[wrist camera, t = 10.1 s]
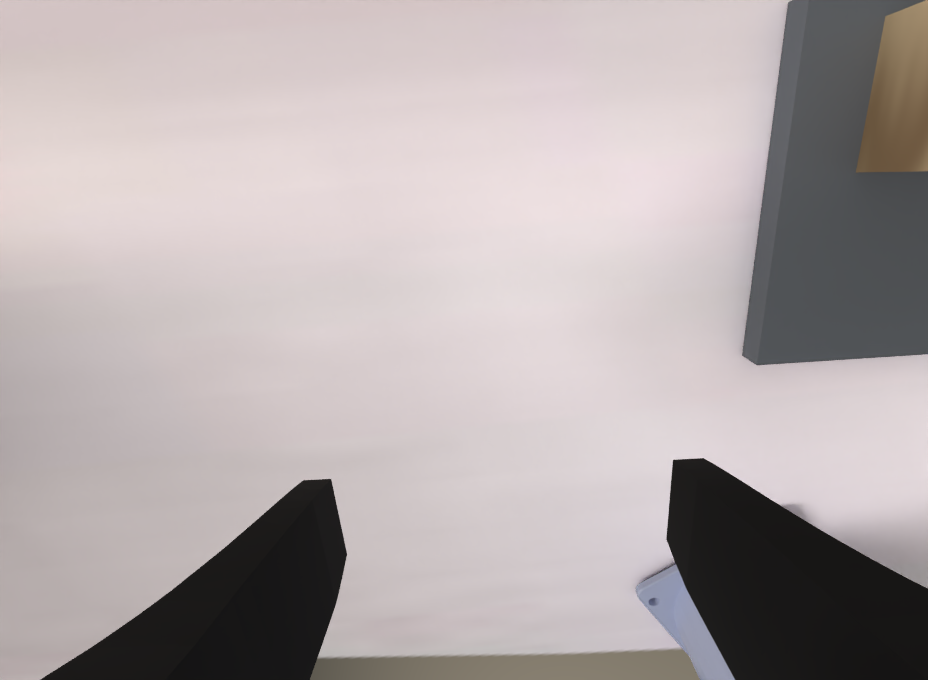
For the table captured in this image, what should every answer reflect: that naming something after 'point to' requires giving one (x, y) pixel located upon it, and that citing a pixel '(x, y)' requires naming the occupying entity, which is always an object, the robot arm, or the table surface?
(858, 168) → the hollow block
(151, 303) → the table surface
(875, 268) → the pin plate
